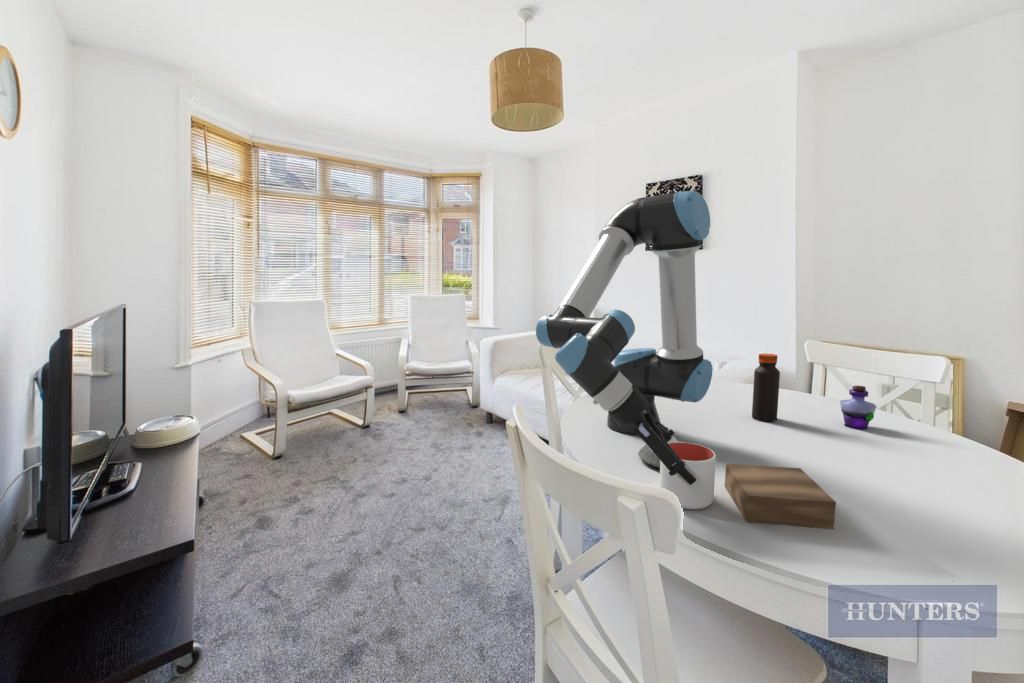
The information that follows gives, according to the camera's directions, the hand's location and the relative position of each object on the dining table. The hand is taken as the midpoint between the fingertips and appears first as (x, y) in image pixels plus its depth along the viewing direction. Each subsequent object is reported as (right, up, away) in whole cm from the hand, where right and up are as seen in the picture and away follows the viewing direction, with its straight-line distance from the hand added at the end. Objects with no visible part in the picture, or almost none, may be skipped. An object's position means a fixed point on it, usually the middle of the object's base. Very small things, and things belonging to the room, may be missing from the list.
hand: (697, 477), depth 87 cm
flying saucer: (+2, -3, +20) cm, 20 cm away
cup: (-2, -5, +1) cm, 5 cm away
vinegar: (+41, +3, +50) cm, 65 cm away
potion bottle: (+63, +2, +42) cm, 76 cm away
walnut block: (+14, -5, -2) cm, 15 cm away
